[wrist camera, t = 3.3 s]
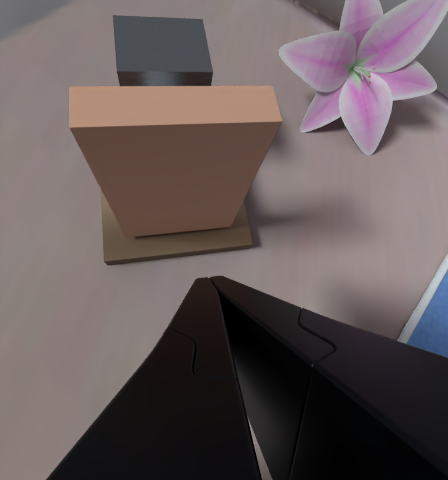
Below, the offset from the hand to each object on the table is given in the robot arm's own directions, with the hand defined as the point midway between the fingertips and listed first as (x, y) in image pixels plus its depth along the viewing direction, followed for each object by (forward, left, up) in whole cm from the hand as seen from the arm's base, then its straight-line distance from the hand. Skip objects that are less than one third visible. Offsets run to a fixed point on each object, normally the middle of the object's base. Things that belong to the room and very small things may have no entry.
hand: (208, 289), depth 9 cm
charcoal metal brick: (+10, -10, -11) cm, 18 cm away
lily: (+1, -22, -11) cm, 25 cm away
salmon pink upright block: (+8, -7, -9) cm, 14 cm away
